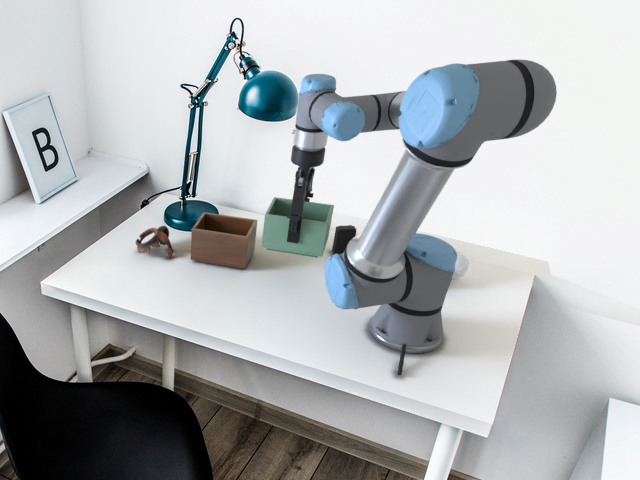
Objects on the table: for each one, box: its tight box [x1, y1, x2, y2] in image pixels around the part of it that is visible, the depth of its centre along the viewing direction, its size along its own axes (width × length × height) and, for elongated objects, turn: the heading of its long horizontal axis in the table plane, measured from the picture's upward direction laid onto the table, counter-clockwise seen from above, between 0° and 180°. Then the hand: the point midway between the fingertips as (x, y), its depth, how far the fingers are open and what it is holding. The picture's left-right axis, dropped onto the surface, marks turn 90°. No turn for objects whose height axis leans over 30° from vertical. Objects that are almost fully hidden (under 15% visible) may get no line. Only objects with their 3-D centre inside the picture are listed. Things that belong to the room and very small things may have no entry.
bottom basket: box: [190, 211, 258, 270], centre depth 175 cm, size 11×15×10 cm
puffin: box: [451, 251, 470, 280], centre depth 164 cm, size 7×7×12 cm
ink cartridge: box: [331, 224, 357, 255], centre depth 176 cm, size 5×2×8 cm, turn 93°
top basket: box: [261, 196, 335, 258], centre depth 163 cm, size 11×15×10 cm
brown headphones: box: [135, 225, 174, 259], centre depth 180 cm, size 12×10×8 cm
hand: (296, 231), depth 164 cm, fingers closed on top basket, 11 cm apart
